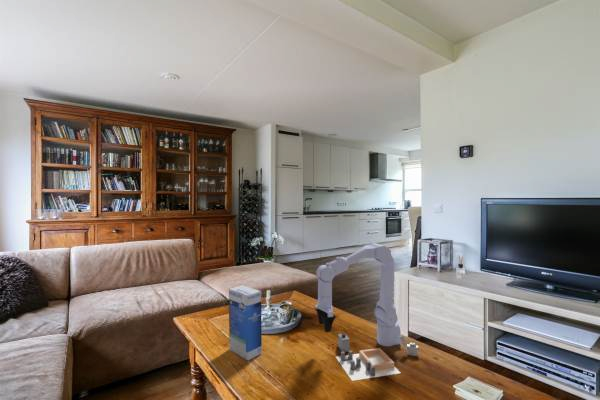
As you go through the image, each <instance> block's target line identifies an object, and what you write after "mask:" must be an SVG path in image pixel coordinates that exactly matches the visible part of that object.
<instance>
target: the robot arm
mask: <svg viewBox="0 0 600 400" xmlns="http://www.w3.org/2000/svg"><path fill="white" fill-rule="evenodd" d="M363 259H373V260H375V261H377V262H378V263H379V264H380V265H381V267H380V283H379V284H380V285H379V287H380V288H379V299H378V301H377V302H376V307H374V311H373V312H374V313H373V314H374V316H375V317H376V343H377V344H378V345H380V346H382V347H392V346H395V345H401V340H400V337H399V336H400V335H402V334H401V326H400V325H399V323H398V315H397V309H396V307H395V305H394V303H393V300H394V299H393V298H394V281H395V278H394V277H395V260H394V258H393V255H392V250H391V249H390V248H389V247H387V246H386V245H382V244H379V243H376V242H370V243H369V244H365V245H364V246H363V247H361V248H360V249H358V250H356V251H354V252H353V253H351V254H349V255H348V256H345V257H344V256H337V257H335V259H334V260H332V261H329V262H326V263H325V264H322V265H319V266H318V268H317V269H316V271H315V274H316V276H317V277H318V278H317V301H316V302H317V304H316V305H315V306H314V309H315V311H316V314H317V319H318V323H319V325H323V327H324V332H325V333H331V331H332V327H333V323H334V321H335V319H336V317H337V316H336V314H334V311H333V305H332V304H333V303H332V302H333V289H332V288H333V284H332V283H333V279H334V278H335V276H338V275H339V274H341V273H343V272H345V271H347V270H349V266H350V265H352V264H355V263H357V262H359V261H362V260H363Z"/></svg>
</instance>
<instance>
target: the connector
mask: <svg viewBox="0 0 600 400" xmlns="http://www.w3.org/2000/svg"><path fill="white" fill-rule="evenodd" d="M337 347H338V349H339V350H340V352H345V353H347V352H348V351H350V338H349V337H348V336H347V334H346V333H345V332H344V333H338V334H337Z"/></svg>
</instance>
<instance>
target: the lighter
mask: <svg viewBox="0 0 600 400" xmlns="http://www.w3.org/2000/svg"><path fill="white" fill-rule="evenodd" d="M399 337H400V343H402V346H403V347H404V348H405V347H406V355H407V356H412V357H419V345H417V344H416V343H415V342H410V343H407V341H406V339H405V337H404V334H401V335H400V336H399Z"/></svg>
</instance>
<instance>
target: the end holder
mask: <svg viewBox="0 0 600 400" xmlns="http://www.w3.org/2000/svg"><path fill="white" fill-rule="evenodd" d="M358 354H359V356H360V357H361V358H362V360H363V361H364V362H365V363H366V361H370V362H371V360H370V359H369V358H368V357H367V356H370V355H378V354H379V355H380V356H381V357H382V358H383V359H384V360H385V361H386V362H383V363H376V364H373V363H372V362H371V366H374V367H375V371H377V370H383V369H390V368H394V367H395V361H393V359H391V358H390V357H389V355H387V353H386V352H385V351H383V349H382V348H380V347H377V348H370V349H369V348H368V349H361V350H359V351H358Z"/></svg>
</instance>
